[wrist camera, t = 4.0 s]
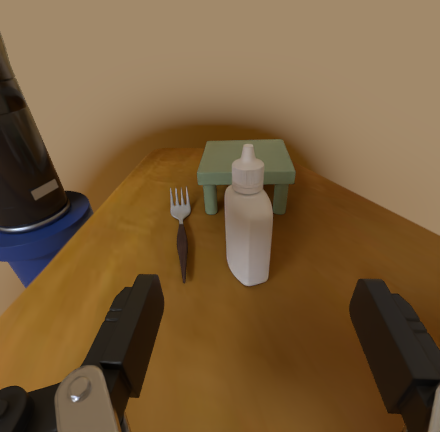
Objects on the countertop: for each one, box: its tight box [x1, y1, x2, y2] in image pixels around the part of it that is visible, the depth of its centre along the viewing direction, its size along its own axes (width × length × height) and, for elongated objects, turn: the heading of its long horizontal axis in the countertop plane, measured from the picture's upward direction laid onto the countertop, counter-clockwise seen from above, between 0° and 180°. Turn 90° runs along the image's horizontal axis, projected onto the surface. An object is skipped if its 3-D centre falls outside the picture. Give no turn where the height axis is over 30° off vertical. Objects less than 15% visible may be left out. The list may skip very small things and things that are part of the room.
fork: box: [170, 186, 191, 283], centre depth 30 cm, size 3×16×2 cm, turn 9°
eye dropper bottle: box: [225, 144, 273, 286], centre depth 22 cm, size 4×6×12 cm
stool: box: [197, 139, 296, 215], centre depth 35 cm, size 11×11×6 cm
